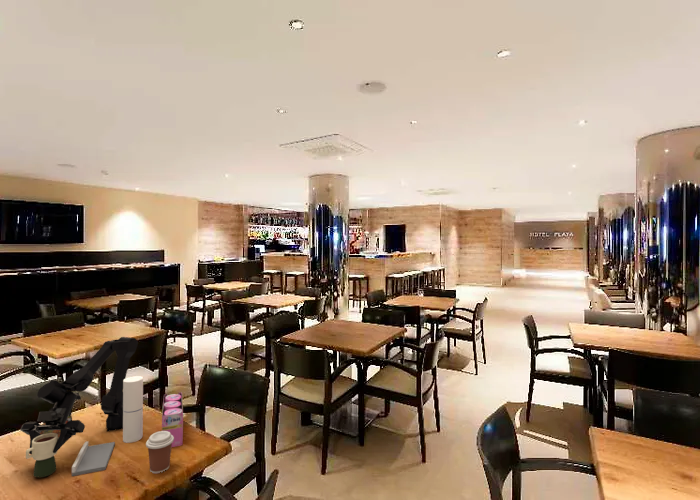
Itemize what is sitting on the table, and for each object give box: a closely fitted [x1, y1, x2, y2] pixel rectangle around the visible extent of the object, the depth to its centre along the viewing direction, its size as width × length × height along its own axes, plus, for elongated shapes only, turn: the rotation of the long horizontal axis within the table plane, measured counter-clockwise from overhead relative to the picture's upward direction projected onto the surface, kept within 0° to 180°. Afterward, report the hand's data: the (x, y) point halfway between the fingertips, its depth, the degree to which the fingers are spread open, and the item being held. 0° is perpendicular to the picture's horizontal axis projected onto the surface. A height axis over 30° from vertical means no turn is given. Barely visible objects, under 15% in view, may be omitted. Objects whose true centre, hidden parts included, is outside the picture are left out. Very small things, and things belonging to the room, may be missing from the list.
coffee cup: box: [145, 430, 174, 474], centre depth 135 cm, size 9×9×12 cm
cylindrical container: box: [122, 375, 144, 444], centre depth 155 cm, size 7×7×25 cm
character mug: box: [25, 433, 59, 478], centre depth 130 cm, size 11×7×13 cm, turn 151°
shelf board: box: [71, 440, 116, 477], centre depth 139 cm, size 10×18×3 cm, turn 23°
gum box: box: [161, 391, 184, 448], centre depth 159 cm, size 24×8×14 cm, turn 25°
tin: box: [40, 415, 73, 437], centre depth 155 cm, size 15×3×8 cm, turn 179°
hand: (42, 453), depth 129 cm, fingers open, 7 cm apart
